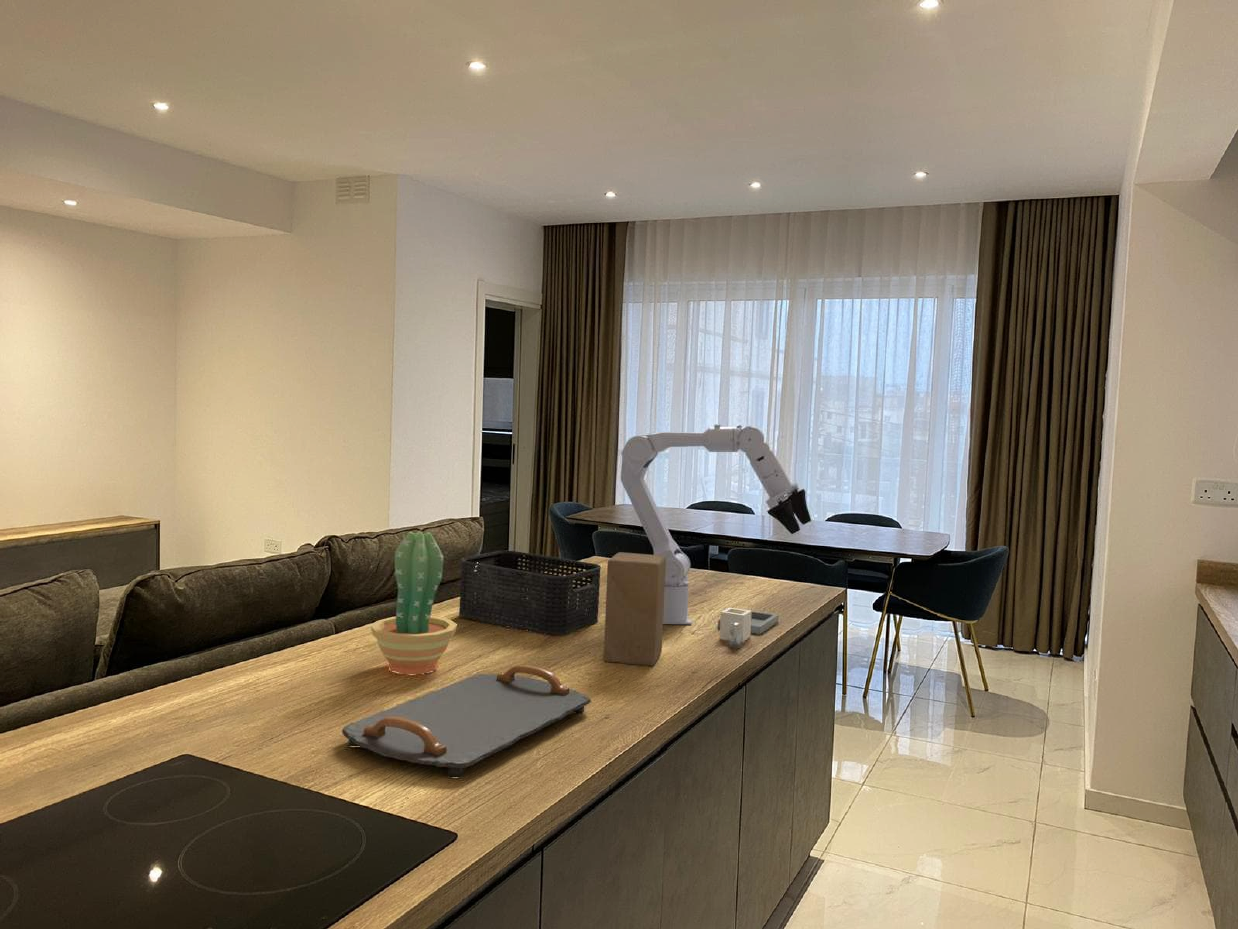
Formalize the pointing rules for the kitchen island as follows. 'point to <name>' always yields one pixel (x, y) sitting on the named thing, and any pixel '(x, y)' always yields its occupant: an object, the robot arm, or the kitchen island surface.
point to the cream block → (735, 616)
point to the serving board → (467, 719)
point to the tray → (760, 621)
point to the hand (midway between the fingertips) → (801, 527)
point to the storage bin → (530, 592)
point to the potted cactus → (415, 609)
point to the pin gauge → (735, 635)
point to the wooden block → (634, 608)
